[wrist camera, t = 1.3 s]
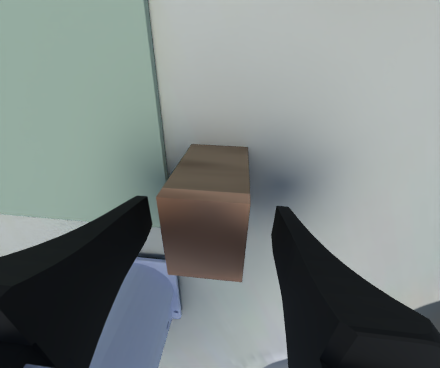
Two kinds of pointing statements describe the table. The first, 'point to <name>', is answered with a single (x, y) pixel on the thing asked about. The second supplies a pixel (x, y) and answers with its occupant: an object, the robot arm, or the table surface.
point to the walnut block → (206, 213)
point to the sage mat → (78, 108)
